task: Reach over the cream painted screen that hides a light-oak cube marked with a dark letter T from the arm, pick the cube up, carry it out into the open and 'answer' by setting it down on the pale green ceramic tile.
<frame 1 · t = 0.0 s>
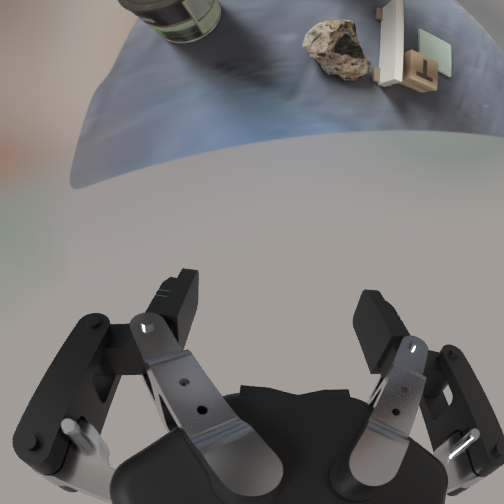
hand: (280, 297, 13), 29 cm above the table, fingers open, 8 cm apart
letter cube: (409, 74, 30), on the table
coffee can: (188, 17, 28), on the table
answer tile: (434, 53, 28), on the table
rock: (332, 57, 31), on the table
screen: (383, 45, 29), on the table
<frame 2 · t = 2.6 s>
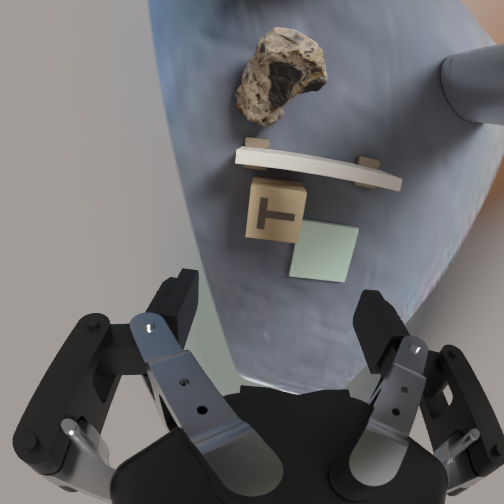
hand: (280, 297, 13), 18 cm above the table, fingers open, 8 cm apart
letter cube: (274, 201, 29), on the table
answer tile: (323, 251, 31), on the table
rock: (274, 82, 24), on the table
screen: (313, 161, 27), on the table
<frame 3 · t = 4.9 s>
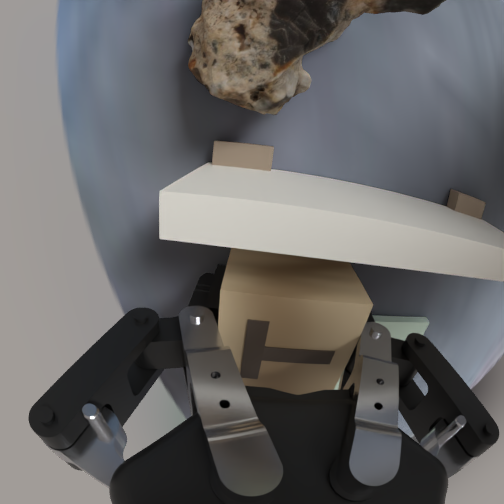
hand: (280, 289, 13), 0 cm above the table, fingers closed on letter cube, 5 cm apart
letter cube: (280, 283, 14), on the table, touching gripper
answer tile: (362, 356, 16), on the table
rock: (281, 19, 9), on the table
screen: (369, 199, 12), on the table
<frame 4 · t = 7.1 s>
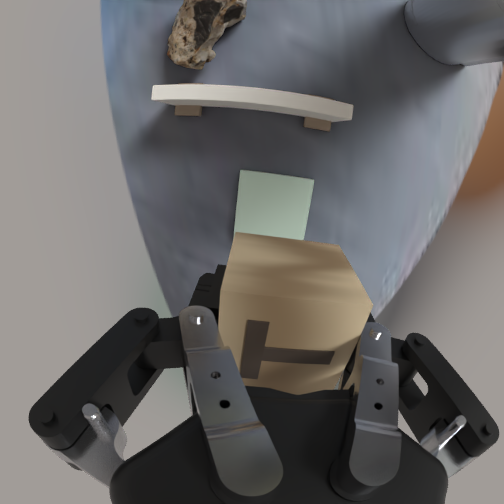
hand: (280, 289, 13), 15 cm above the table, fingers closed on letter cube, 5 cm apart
letter cube: (280, 283, 14), point 14 cm above the table, touching gripper
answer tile: (272, 208, 27), on the table
rock: (209, 29, 19), on the table
screen: (253, 103, 22), on the table
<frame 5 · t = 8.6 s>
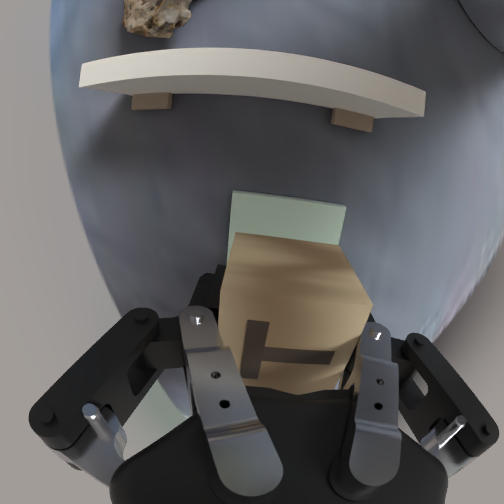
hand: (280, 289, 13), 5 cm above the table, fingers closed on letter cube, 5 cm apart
letter cube: (280, 283, 14), point 5 cm above the table, touching gripper
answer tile: (282, 248, 18), on the table
screen: (252, 87, 14), on the table
when the fingers open (2 cm above the table, at t = 9.7 s): letter cube stays where it is, resting on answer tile.
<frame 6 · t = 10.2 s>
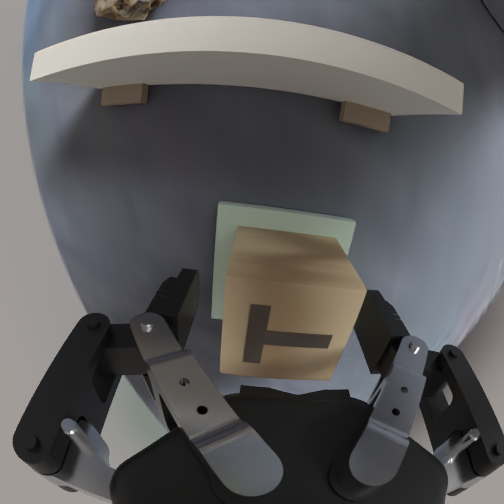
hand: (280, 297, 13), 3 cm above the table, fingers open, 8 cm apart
letter cube: (280, 275, 15), point 1 cm above the table, touching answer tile
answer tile: (278, 269, 15), on the table
screen: (244, 75, 11), on the table
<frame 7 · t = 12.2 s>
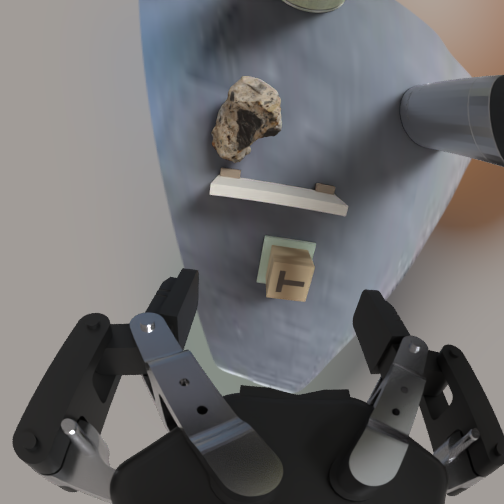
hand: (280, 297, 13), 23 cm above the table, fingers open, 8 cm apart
letter cube: (286, 264, 38), point 1 cm above the table, touching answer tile
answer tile: (285, 262, 38), on the table
rock: (244, 121, 31), on the table
screen: (277, 188, 34), on the table
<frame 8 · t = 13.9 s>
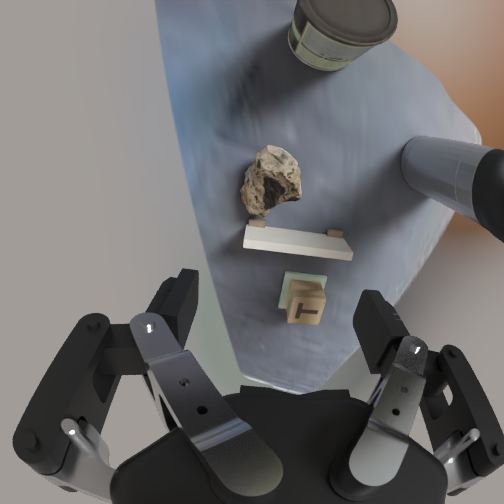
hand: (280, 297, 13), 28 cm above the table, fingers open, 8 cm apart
letter cube: (302, 293, 45), point 1 cm above the table, touching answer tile
coffee can: (322, 41, 29), on the table
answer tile: (301, 291, 45), on the table
rock: (267, 178, 38), on the table
screen: (295, 234, 41), on the table
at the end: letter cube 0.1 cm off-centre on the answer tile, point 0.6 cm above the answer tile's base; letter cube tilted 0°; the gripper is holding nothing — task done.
